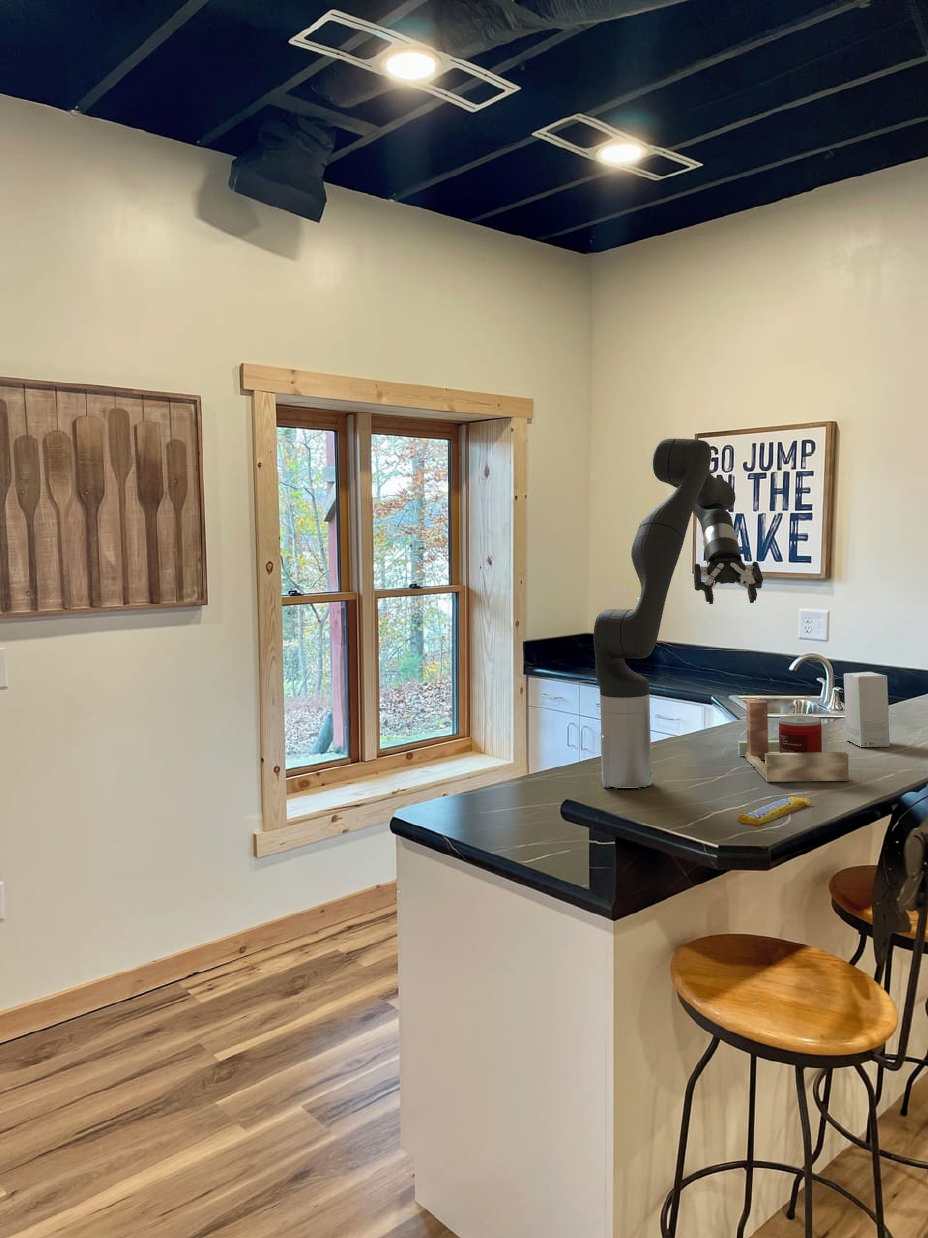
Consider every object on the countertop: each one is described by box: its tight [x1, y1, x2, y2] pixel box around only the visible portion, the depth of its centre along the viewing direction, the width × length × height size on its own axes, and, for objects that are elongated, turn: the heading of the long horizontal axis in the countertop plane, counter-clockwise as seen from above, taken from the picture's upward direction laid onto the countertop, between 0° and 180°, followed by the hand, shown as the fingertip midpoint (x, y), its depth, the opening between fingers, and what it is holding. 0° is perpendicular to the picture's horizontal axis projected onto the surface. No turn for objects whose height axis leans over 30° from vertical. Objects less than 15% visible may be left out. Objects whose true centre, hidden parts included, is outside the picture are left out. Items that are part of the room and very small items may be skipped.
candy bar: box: [737, 795, 812, 826], centre depth 148 cm, size 17×4×2 cm, turn 130°
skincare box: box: [843, 671, 891, 748], centre depth 195 cm, size 8×7×16 cm
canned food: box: [778, 714, 823, 753], centre depth 171 cm, size 8×8×11 cm
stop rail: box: [737, 739, 779, 756], centre depth 189 cm, size 16×2×3 cm, turn 84°
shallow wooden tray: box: [745, 699, 850, 783], centre depth 176 cm, size 15×21×12 cm
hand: (732, 601), depth 192 cm, fingers open, 8 cm apart
